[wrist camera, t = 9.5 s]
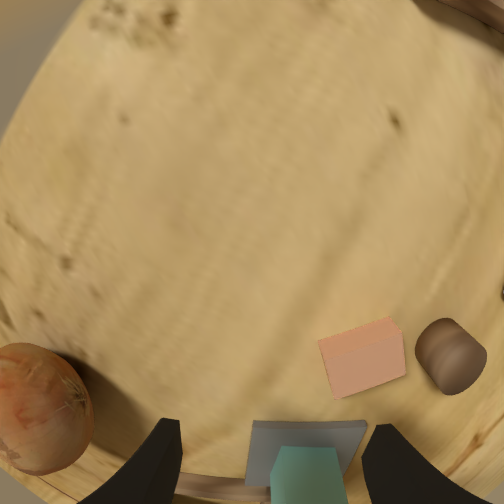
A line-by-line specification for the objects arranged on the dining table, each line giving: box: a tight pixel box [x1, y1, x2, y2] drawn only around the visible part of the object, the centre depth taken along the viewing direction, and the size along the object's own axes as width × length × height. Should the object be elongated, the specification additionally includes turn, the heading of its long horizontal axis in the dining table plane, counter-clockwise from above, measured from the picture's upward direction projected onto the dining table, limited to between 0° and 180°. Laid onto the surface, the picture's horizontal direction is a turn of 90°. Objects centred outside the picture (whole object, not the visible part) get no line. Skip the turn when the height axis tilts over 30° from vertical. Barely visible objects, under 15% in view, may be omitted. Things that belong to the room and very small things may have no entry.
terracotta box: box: [318, 316, 406, 400], centre depth 19 cm, size 5×4×2 cm
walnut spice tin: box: [415, 318, 487, 395], centre depth 18 cm, size 4×4×4 cm
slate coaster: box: [245, 420, 367, 487], centre depth 23 cm, size 9×9×1 cm
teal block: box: [270, 446, 348, 504], centre depth 20 cm, size 4×4×6 cm
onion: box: [0, 343, 94, 476], centre depth 17 cm, size 10×10×10 cm
